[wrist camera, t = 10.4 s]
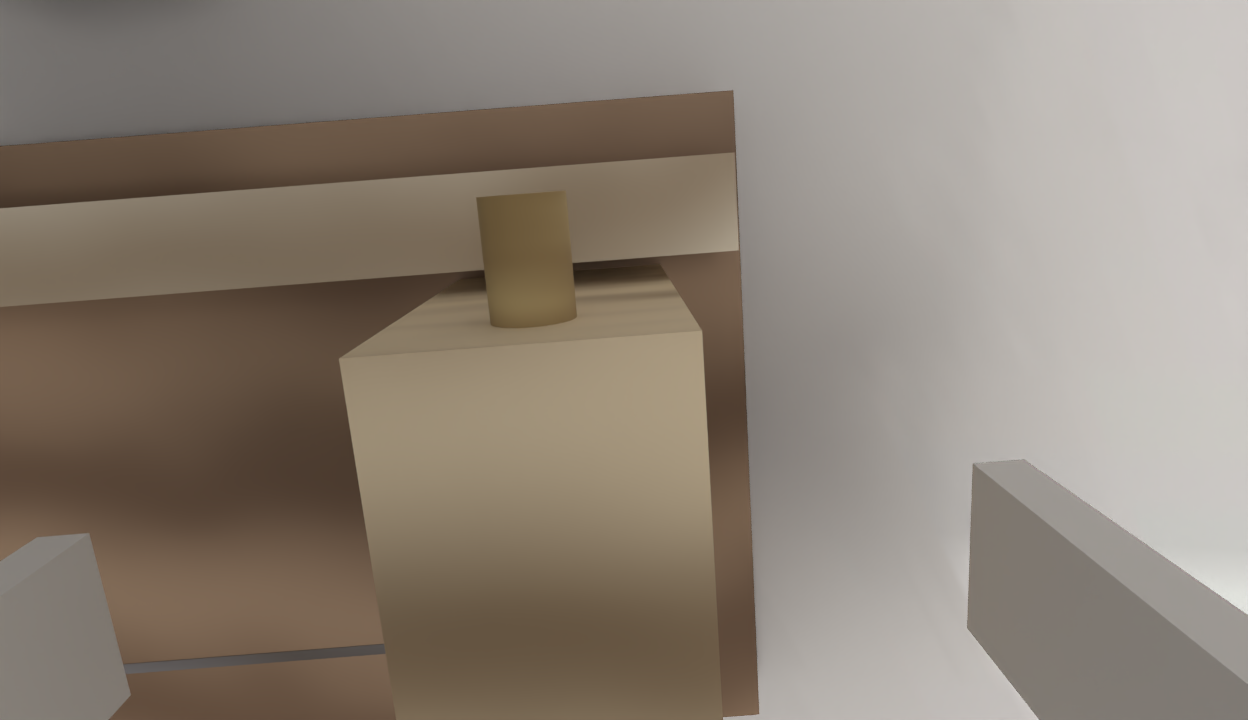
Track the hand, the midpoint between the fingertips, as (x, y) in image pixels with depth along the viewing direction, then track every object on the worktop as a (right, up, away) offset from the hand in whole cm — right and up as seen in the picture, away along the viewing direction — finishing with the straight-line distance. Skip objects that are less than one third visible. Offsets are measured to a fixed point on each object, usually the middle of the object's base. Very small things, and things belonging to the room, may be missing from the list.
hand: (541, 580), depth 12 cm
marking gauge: (0, +2, +9) cm, 9 cm away
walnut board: (-8, +1, +11) cm, 13 cm away
